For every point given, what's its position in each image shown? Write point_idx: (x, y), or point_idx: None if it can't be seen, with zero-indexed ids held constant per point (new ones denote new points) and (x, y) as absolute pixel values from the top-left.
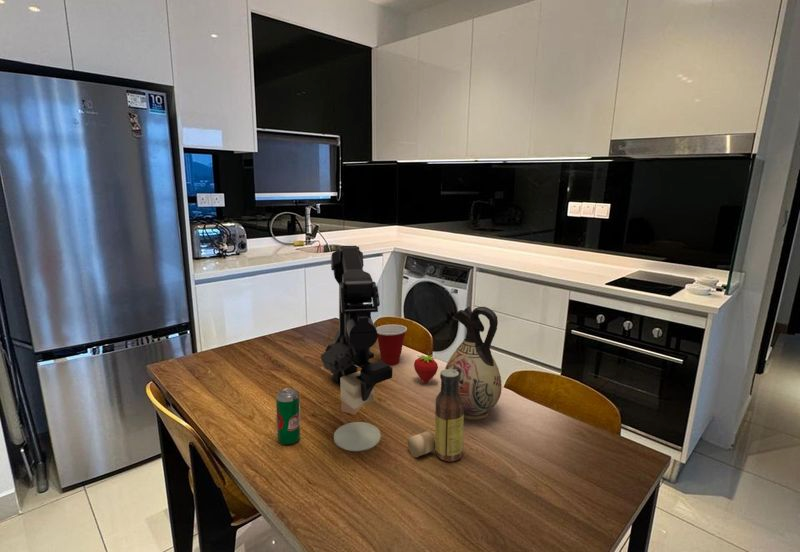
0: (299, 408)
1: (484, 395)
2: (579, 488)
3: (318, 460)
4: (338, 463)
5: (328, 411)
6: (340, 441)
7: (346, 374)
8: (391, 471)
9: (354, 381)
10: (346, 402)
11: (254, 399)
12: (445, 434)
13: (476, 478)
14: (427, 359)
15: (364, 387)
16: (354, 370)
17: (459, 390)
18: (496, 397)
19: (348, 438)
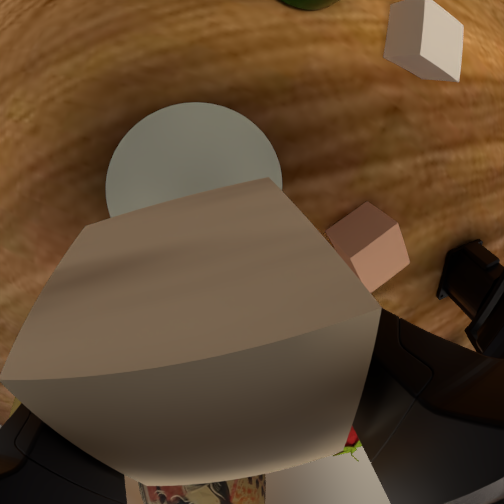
0: (417, 53)
1: (138, 483)
2: (9, 415)
3: (125, 25)
4: (78, 86)
5: (388, 162)
6: (181, 120)
7: (382, 383)
8: (11, 231)
9: (137, 427)
10: (180, 200)
11: (496, 43)
12: (15, 397)
13: (3, 356)
14: (346, 449)
15: (8, 423)
16: (369, 441)
17: None
18: None
19: (186, 155)
